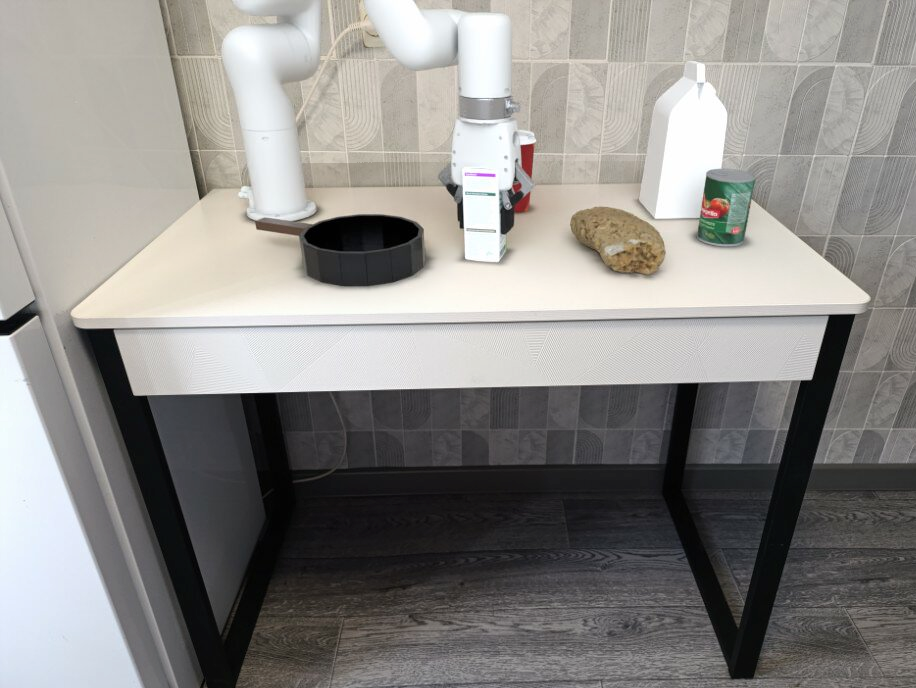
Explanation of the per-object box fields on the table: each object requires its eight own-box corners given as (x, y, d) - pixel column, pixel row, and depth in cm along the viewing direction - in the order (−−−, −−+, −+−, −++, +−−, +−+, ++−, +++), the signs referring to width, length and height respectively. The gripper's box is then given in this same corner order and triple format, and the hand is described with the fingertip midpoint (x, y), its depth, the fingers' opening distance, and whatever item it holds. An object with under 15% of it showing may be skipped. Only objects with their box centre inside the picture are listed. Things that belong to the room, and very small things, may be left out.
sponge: (671, 283, 105) (644, 217, 120) (671, 239, 100) (643, 176, 114) (585, 298, 106) (569, 231, 121) (580, 255, 101) (564, 190, 115)
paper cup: (541, 206, 135) (544, 131, 128) (521, 216, 129) (522, 138, 122) (507, 200, 139) (508, 127, 132) (486, 209, 133) (486, 133, 126)
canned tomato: (752, 238, 119) (764, 174, 114) (730, 250, 114) (742, 183, 109) (710, 228, 124) (720, 166, 118) (687, 239, 119) (697, 174, 113)
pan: (225, 265, 107) (219, 234, 104) (298, 230, 122) (294, 202, 119) (387, 294, 98) (384, 260, 95) (444, 252, 113) (443, 222, 110)
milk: (638, 200, 139) (654, 58, 126) (695, 199, 140) (715, 58, 127) (654, 218, 129) (673, 66, 116) (715, 217, 130) (740, 66, 117)
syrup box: (499, 263, 109) (500, 169, 101) (463, 260, 110) (461, 166, 102) (507, 250, 113) (508, 160, 106) (471, 247, 114) (470, 158, 107)
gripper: (550, 108, 101) (545, 229, 110) (442, 101, 106) (446, 216, 115) (533, 117, 95) (529, 243, 104) (419, 108, 100) (425, 229, 109)
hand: (485, 228), depth 109 cm, fingers closed on syrup box, 6 cm apart
